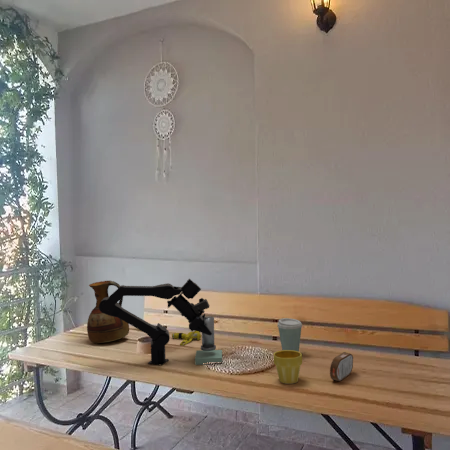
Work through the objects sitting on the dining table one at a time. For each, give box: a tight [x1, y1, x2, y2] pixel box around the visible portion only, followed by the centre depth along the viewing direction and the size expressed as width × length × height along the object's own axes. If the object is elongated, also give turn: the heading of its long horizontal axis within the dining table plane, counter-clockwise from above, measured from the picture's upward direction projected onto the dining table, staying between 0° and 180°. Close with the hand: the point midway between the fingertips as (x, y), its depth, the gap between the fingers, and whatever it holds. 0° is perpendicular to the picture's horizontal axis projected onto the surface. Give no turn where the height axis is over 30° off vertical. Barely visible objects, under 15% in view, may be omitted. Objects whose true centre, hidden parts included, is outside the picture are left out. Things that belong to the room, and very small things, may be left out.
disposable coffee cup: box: [277, 317, 303, 352], centre depth 190 cm, size 11×11×15 cm
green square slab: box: [194, 349, 223, 366], centre depth 186 cm, size 11×11×2 cm
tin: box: [329, 351, 354, 382], centre depth 162 cm, size 15×3×8 cm, turn 141°
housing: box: [200, 315, 217, 351], centre depth 186 cm, size 6×6×13 cm
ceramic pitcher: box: [86, 280, 130, 344], centre depth 220 cm, size 20×20×30 cm
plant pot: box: [272, 349, 303, 385], centre depth 161 cm, size 10×10×10 cm
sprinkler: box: [171, 330, 202, 347], centre depth 218 cm, size 19×4×15 cm
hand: (211, 332), depth 186 cm, fingers closed on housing, 5 cm apart
